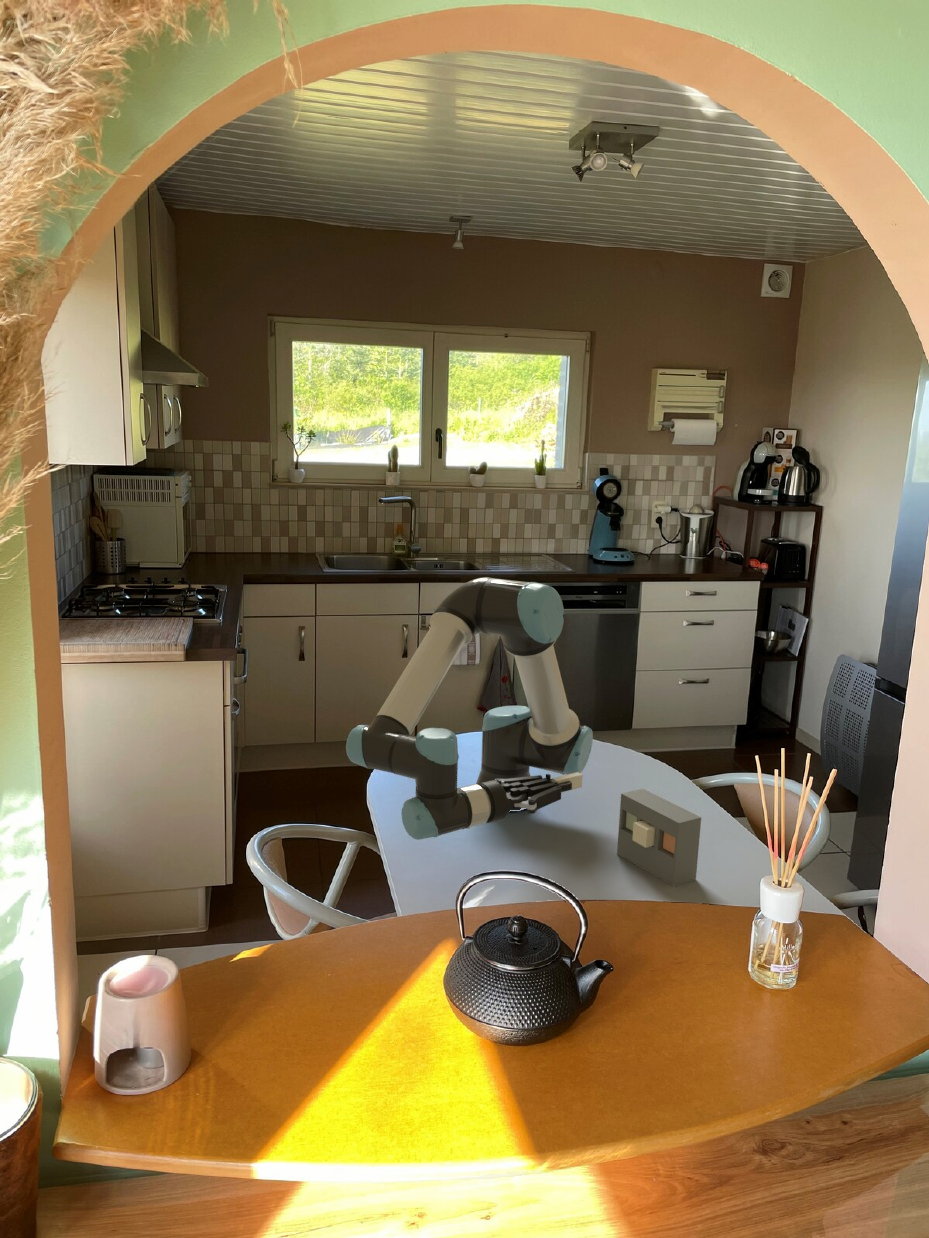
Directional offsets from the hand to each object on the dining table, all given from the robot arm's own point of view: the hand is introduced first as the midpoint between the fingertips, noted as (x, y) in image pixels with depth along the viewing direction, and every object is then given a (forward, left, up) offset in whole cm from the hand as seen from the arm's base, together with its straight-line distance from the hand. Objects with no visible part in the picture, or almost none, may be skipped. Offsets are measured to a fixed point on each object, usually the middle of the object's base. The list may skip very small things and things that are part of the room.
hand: (579, 779), depth 186 cm
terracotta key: (+13, +15, -13) cm, 24 cm away
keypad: (+7, +15, -20) cm, 26 cm away
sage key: (+2, +15, -13) cm, 20 cm away
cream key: (+7, +12, -13) cm, 19 cm away
